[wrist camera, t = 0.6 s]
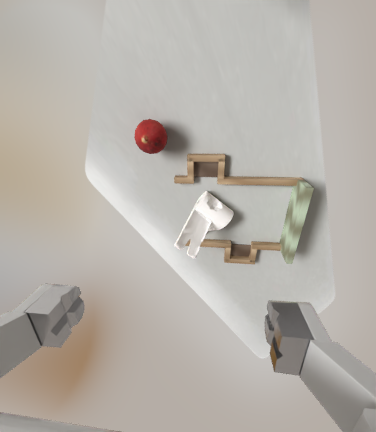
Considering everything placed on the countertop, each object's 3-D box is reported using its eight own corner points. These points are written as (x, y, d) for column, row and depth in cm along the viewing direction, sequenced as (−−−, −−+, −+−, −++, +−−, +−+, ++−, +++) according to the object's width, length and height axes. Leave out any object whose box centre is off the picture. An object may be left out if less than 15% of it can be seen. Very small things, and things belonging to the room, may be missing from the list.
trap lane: (174, 153, 43) (168, 160, 37) (307, 154, 40) (321, 162, 35) (179, 256, 55) (175, 272, 50) (280, 261, 53) (287, 279, 47)
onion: (176, 130, 40) (168, 136, 33) (161, 155, 43) (151, 165, 36) (150, 111, 39) (136, 113, 32) (136, 138, 42) (121, 145, 35)
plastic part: (232, 208, 47) (238, 237, 37) (204, 236, 52) (203, 268, 41) (207, 188, 46) (206, 212, 35) (180, 218, 50) (172, 248, 40)
